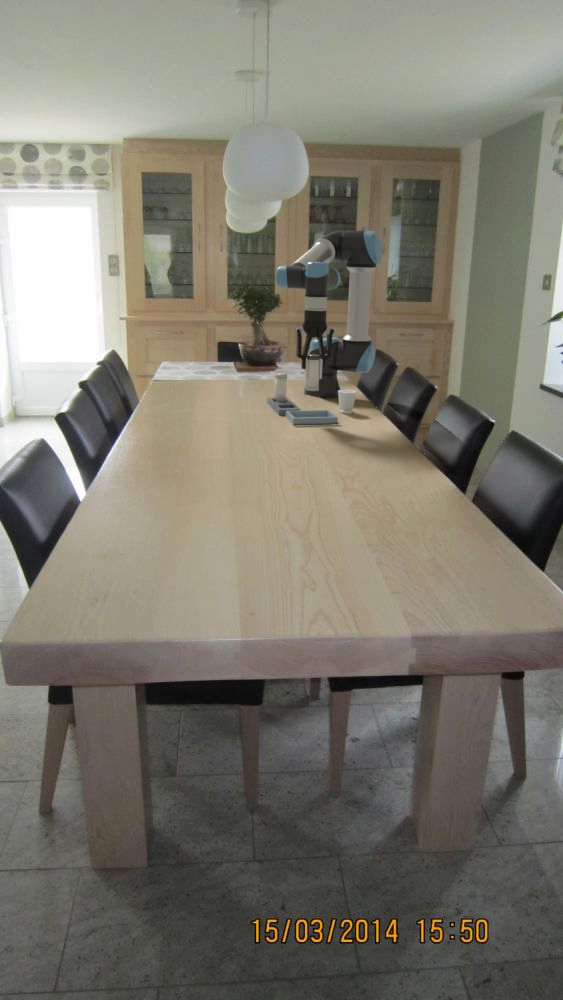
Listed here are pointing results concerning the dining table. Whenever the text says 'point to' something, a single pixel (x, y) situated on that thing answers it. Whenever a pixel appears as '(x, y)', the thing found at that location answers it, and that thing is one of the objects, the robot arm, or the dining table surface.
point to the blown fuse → (313, 373)
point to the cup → (346, 400)
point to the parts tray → (311, 417)
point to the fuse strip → (282, 406)
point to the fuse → (280, 387)
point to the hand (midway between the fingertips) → (312, 378)
